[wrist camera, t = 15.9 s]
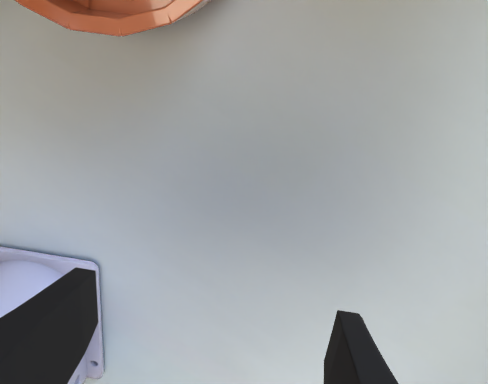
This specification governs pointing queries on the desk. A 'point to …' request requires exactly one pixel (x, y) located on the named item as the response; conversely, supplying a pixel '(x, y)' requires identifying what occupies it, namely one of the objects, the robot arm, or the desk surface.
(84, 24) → the dish
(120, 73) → the desk surface
